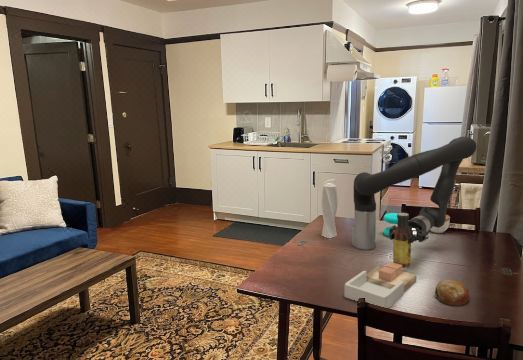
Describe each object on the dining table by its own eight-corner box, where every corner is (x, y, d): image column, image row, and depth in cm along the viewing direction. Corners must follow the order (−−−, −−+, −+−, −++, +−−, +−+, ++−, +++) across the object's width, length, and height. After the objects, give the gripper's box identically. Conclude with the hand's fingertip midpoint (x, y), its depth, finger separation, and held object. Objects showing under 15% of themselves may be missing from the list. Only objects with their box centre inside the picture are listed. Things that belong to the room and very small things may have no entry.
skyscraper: (328, 233, 193) (328, 178, 187) (340, 236, 187) (341, 180, 182) (318, 237, 188) (318, 180, 182) (330, 240, 182) (331, 182, 177)
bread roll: (433, 301, 132) (425, 282, 130) (460, 287, 132) (452, 268, 130) (449, 317, 122) (440, 296, 121) (478, 302, 122) (470, 281, 121)
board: (364, 282, 140) (364, 275, 139) (379, 271, 148) (379, 265, 148) (402, 294, 130) (402, 287, 130) (416, 281, 139) (416, 275, 138)
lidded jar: (449, 228, 193) (450, 210, 191) (449, 235, 184) (450, 216, 182) (425, 226, 198) (426, 209, 196) (424, 233, 188) (425, 214, 186)
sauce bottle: (411, 269, 141) (414, 217, 137) (393, 268, 143) (395, 216, 138) (408, 261, 148) (410, 211, 143) (391, 261, 149) (393, 211, 145)
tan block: (384, 273, 140) (385, 265, 140) (390, 269, 144) (390, 261, 143) (396, 276, 137) (397, 269, 137) (402, 272, 141) (402, 264, 140)
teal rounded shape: (381, 212, 190) (401, 212, 190) (380, 232, 192) (400, 231, 192) (387, 218, 180) (409, 218, 180) (386, 238, 182) (408, 238, 182)
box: (343, 296, 130) (343, 284, 129) (363, 282, 140) (363, 270, 139) (384, 311, 120) (385, 298, 119) (403, 294, 130) (403, 282, 129)
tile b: (378, 278, 137) (378, 270, 136) (384, 273, 140) (384, 266, 140) (390, 281, 134) (391, 273, 133) (396, 277, 137) (396, 269, 137)
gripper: (399, 214, 157) (381, 225, 145) (436, 221, 148) (420, 233, 135) (399, 232, 159) (380, 244, 147) (435, 239, 149) (419, 253, 137)
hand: (399, 239), depth 141 cm, fingers closed on sauce bottle, 6 cm apart
